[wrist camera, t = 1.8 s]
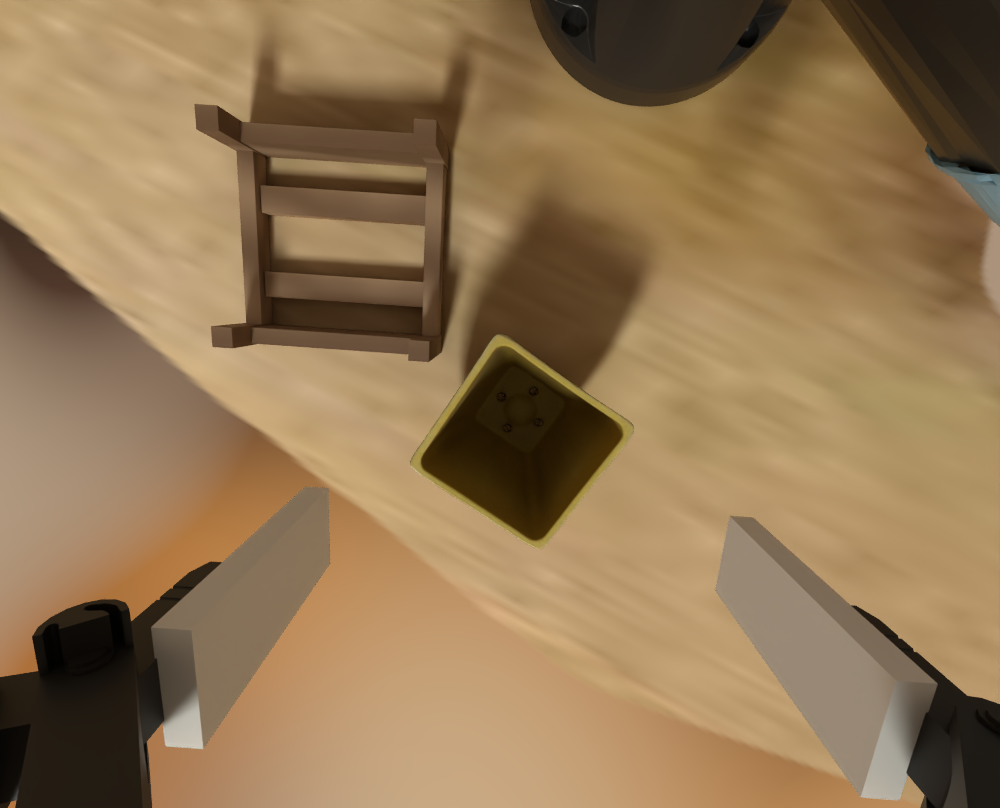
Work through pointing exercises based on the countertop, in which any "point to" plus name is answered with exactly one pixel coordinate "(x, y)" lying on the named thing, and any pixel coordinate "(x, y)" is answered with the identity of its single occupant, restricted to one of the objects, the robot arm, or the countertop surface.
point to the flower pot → (520, 443)
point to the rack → (339, 205)
